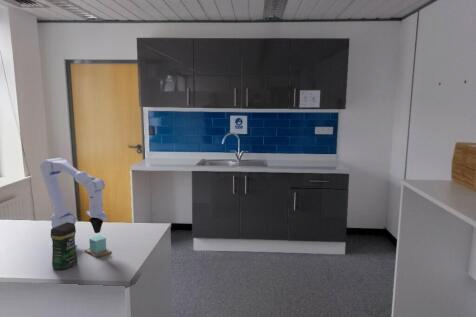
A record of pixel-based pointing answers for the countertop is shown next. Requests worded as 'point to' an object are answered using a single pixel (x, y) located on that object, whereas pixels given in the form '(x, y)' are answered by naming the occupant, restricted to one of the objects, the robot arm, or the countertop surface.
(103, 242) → the teal matte cube
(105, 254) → the brown rectangular board
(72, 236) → the coffee jar
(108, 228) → the countertop surface
